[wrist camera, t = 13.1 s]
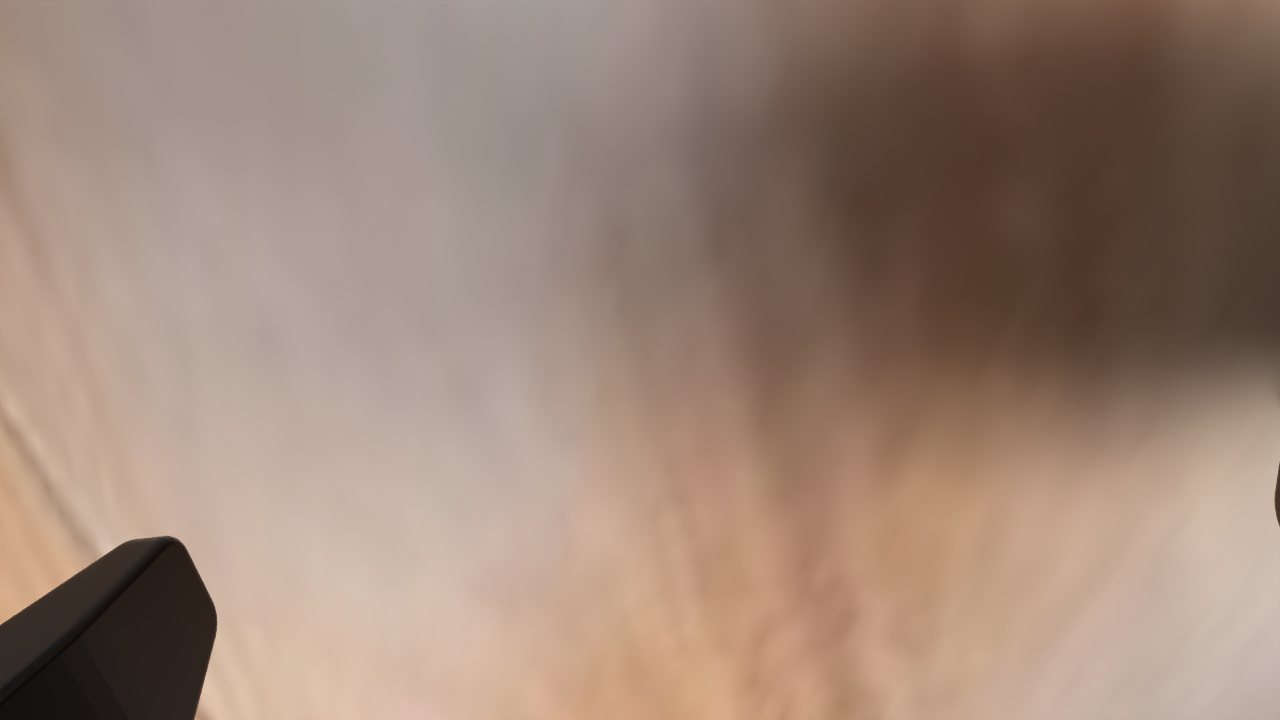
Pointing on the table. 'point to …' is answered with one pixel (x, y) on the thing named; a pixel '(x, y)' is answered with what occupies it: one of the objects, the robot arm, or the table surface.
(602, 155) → the table surface
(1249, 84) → the table surface
